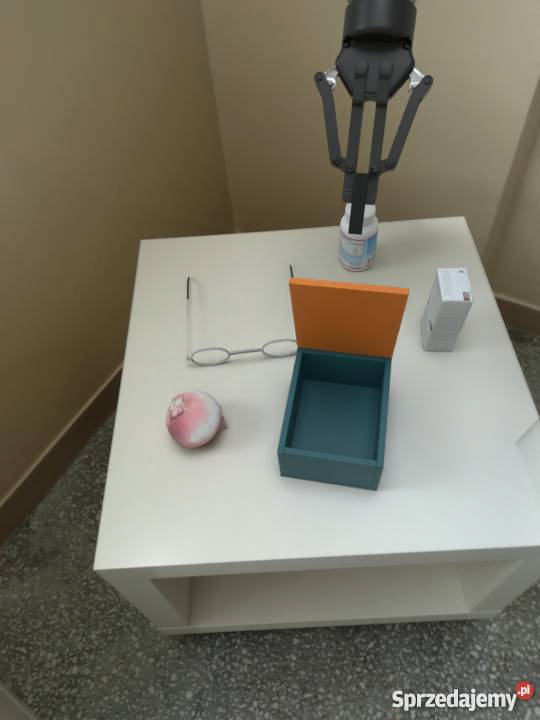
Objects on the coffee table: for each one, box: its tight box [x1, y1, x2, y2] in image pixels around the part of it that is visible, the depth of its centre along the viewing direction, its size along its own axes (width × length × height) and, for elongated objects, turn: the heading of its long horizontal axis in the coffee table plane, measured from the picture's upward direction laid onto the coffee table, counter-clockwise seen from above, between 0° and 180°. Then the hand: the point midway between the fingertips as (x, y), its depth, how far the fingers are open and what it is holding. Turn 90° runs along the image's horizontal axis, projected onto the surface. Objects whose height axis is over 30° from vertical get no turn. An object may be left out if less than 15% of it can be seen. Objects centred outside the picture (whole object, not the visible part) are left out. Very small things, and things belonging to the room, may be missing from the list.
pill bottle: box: [338, 203, 379, 272], centre depth 86 cm, size 6×6×11 cm
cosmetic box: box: [420, 267, 474, 352], centre depth 76 cm, size 6×4×12 cm
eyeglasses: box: [185, 264, 297, 367], centre depth 84 cm, size 18×19×4 cm
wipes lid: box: [288, 276, 410, 359], centre depth 63 cm, size 16×13×1 cm
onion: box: [165, 389, 228, 449], centre depth 72 cm, size 8×8×7 cm
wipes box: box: [276, 347, 393, 492], centre depth 70 cm, size 16×13×8 cm
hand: (355, 233), depth 61 cm, fingers closed
